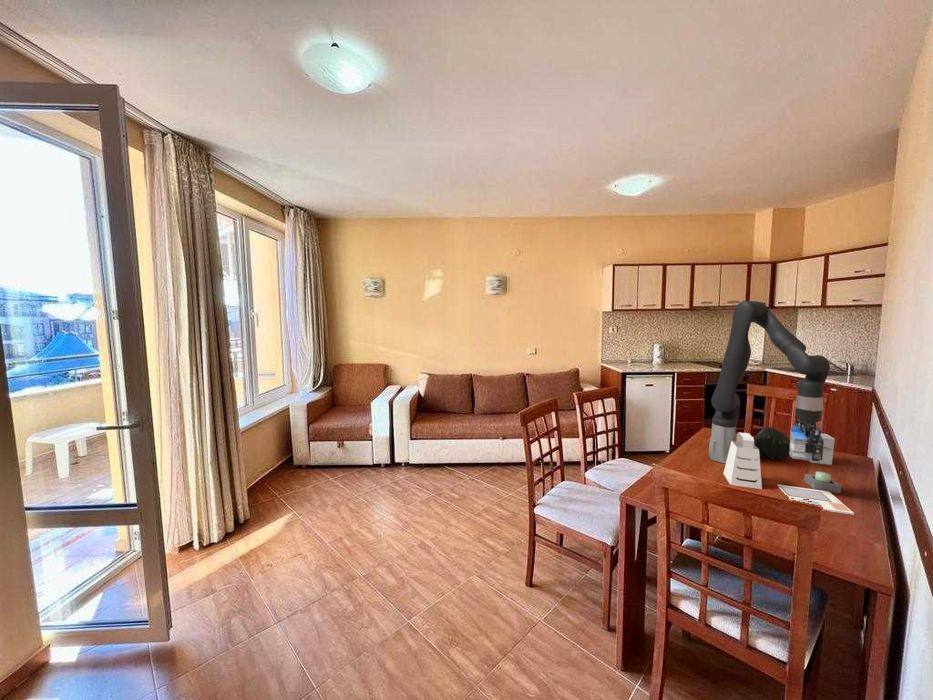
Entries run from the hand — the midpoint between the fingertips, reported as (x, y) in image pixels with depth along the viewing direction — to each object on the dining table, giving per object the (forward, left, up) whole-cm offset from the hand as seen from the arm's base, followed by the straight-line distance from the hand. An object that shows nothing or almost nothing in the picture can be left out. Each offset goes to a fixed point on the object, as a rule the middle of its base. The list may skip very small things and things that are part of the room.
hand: (805, 450), depth 140 cm
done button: (+9, +7, -15) cm, 20 cm away
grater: (-19, +2, -17) cm, 26 cm away
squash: (+2, +36, -17) cm, 40 cm away
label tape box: (0, 0, -4) cm, 4 cm away
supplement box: (+20, +37, -17) cm, 46 cm away
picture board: (+1, -6, -17) cm, 18 cm away
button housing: (+9, +7, -17) cm, 21 cm away
